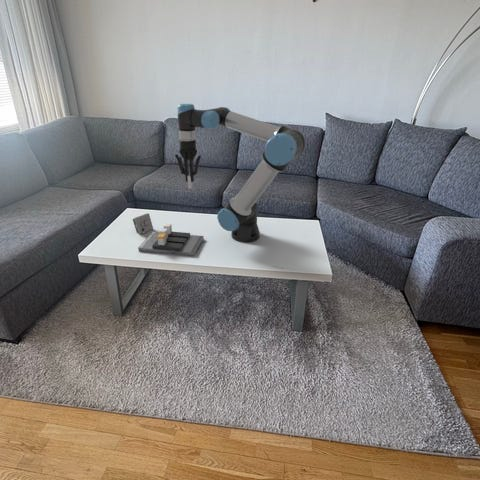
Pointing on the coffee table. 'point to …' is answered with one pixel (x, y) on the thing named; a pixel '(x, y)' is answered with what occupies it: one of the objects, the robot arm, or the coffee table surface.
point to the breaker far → (168, 228)
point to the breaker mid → (164, 232)
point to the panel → (183, 252)
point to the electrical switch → (143, 223)
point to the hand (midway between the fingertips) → (190, 187)
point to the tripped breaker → (161, 239)
